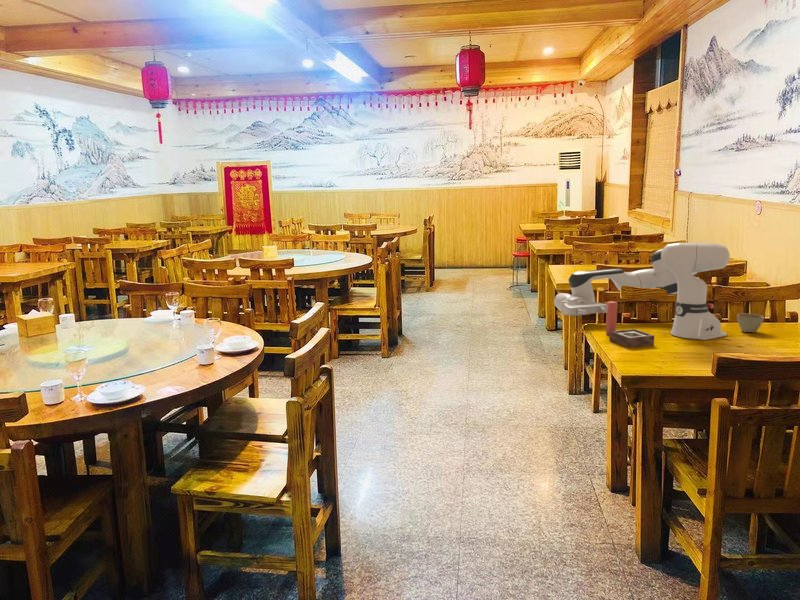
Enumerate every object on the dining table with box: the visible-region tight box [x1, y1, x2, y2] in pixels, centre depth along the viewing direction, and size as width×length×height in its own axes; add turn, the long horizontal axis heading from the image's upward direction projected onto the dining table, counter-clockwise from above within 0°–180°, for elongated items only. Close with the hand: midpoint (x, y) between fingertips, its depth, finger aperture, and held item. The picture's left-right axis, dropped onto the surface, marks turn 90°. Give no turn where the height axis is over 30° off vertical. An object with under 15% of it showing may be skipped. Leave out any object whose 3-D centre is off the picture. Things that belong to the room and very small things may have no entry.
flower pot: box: [736, 312, 765, 333], centre depth 270 cm, size 10×10×7 cm
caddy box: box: [609, 328, 655, 349], centre depth 254 cm, size 12×12×4 cm
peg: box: [605, 301, 618, 336], centre depth 268 cm, size 4×4×14 cm
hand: (595, 312), depth 279 cm, fingers open, 8 cm apart
